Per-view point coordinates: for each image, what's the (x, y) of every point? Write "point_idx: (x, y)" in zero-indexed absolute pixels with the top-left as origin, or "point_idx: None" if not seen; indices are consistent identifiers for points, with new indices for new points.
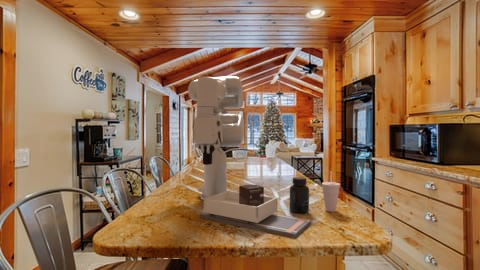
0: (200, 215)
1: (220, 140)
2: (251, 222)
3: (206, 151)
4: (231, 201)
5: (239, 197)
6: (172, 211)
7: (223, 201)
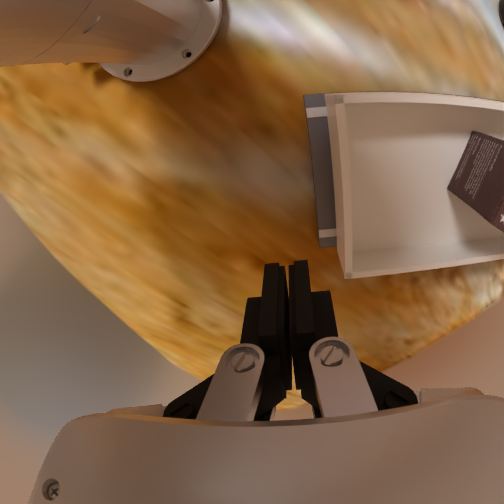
0: (322, 246)
1: (491, 438)
2: None
3: (312, 409)
4: (372, 122)
5: (467, 204)
6: (191, 251)
7: (431, 265)
